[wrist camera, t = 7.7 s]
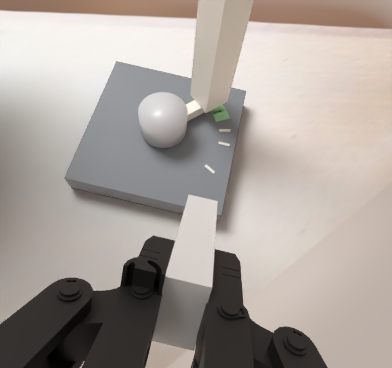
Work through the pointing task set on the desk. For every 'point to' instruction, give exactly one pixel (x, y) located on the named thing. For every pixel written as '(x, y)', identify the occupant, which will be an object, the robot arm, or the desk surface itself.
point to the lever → (200, 73)
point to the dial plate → (152, 156)
